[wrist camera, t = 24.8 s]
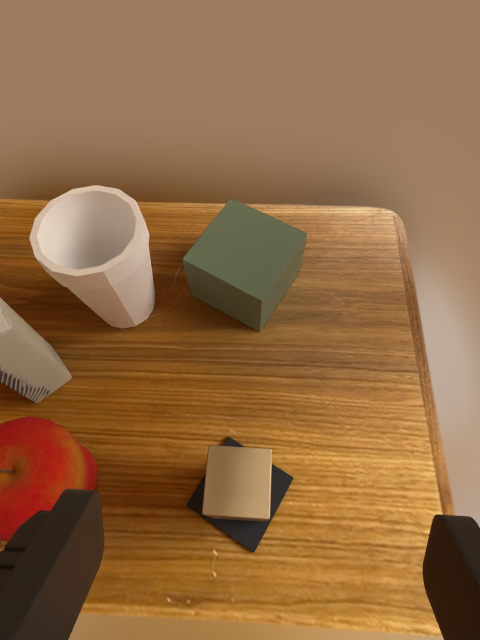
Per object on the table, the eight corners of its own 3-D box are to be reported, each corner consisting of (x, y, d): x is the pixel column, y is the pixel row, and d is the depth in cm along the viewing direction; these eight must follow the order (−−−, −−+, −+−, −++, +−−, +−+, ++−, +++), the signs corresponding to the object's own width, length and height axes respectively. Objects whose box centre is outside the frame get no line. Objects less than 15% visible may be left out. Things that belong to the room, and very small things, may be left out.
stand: (299, 271, 48) (307, 233, 42) (259, 332, 45) (261, 301, 39) (233, 238, 51) (231, 197, 44) (190, 294, 47) (181, 259, 41)
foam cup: (141, 253, 50) (109, 169, 38) (185, 308, 47) (164, 234, 35) (69, 297, 47) (11, 221, 36) (110, 358, 44) (61, 296, 32)
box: (13, 368, 44) (-71, 311, 32) (51, 343, 45) (-17, 279, 34) (37, 407, 42) (-42, 361, 30) (76, 380, 43) (13, 325, 32)
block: (266, 467, 39) (272, 448, 30) (264, 521, 37) (269, 519, 28) (217, 464, 39) (208, 444, 30) (213, 518, 37) (201, 514, 28)
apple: (97, 543, 37) (36, 549, 26) (3, 532, 37) (-94, 534, 26) (119, 442, 40) (74, 411, 30) (34, 433, 41) (-41, 400, 30)
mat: (293, 478, 39) (293, 477, 38) (253, 552, 36) (254, 552, 36) (228, 437, 40) (228, 436, 40) (186, 505, 38) (186, 505, 37)
